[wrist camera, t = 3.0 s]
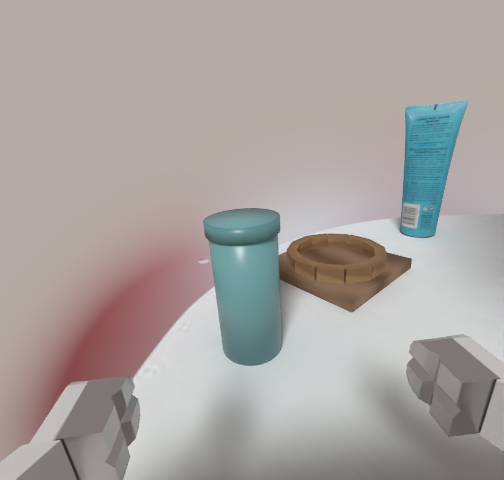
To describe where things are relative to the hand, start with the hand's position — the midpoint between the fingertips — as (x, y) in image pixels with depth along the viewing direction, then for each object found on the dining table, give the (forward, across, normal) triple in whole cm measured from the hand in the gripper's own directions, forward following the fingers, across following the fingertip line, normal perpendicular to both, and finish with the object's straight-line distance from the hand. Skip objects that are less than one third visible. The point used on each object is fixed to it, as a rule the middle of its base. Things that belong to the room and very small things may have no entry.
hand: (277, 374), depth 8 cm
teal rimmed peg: (+13, 0, +10) cm, 16 cm away
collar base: (+24, -12, +9) cm, 28 cm away
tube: (+34, -29, +9) cm, 46 cm away
